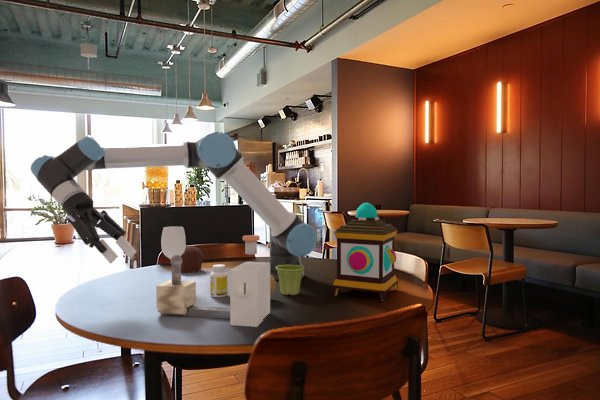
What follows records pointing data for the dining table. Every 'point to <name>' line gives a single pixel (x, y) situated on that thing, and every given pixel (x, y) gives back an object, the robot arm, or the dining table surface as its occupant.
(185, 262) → the muffin
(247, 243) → the orange mushroom
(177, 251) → the wineglass
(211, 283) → the supplement bottle
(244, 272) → the end cabinet
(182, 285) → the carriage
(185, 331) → the dining table surface
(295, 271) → the plant pot
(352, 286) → the decorative lantern
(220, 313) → the rail track
